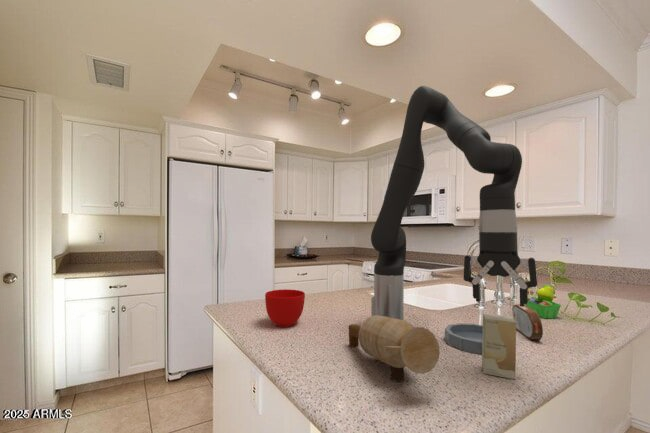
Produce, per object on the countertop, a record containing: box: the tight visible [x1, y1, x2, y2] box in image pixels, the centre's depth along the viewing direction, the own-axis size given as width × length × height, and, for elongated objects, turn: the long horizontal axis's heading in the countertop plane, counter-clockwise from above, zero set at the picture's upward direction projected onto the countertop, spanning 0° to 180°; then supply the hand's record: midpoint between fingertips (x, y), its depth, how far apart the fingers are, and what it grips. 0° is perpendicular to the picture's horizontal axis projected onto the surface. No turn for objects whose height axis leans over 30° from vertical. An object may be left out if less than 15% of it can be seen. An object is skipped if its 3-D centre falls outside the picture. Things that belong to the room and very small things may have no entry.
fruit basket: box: [524, 284, 562, 319], centre depth 117 cm, size 11×9×11 cm
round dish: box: [444, 322, 483, 355], centre depth 86 cm, size 16×16×3 cm
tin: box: [512, 303, 544, 341], centre depth 94 cm, size 15×3×8 cm, turn 168°
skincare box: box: [481, 313, 517, 380], centre depth 69 cm, size 6×4×12 cm
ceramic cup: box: [264, 288, 306, 328], centre depth 104 cm, size 13×17×10 cm
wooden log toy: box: [348, 315, 441, 382], centre depth 70 cm, size 10×12×30 cm
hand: (499, 303), depth 69 cm, fingers open, 8 cm apart
